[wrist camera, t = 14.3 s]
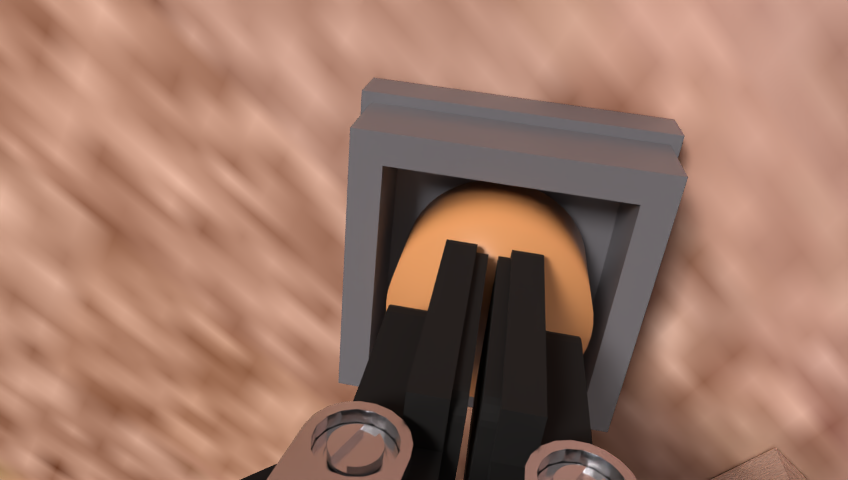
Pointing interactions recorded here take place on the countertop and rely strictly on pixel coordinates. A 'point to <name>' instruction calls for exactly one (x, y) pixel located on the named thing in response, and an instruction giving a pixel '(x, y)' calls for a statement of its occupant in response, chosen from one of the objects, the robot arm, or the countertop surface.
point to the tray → (764, 469)
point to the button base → (518, 166)
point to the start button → (499, 252)
